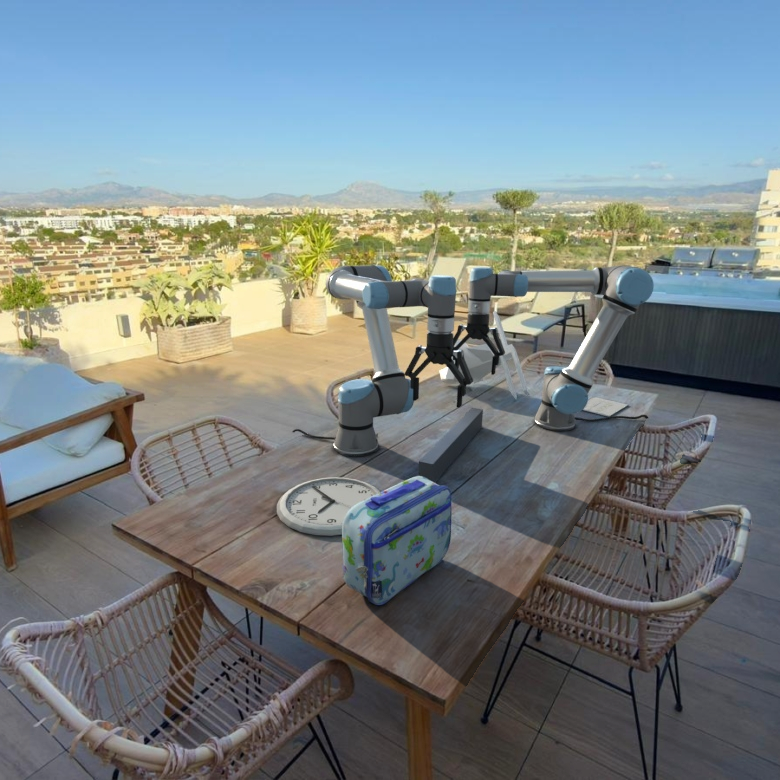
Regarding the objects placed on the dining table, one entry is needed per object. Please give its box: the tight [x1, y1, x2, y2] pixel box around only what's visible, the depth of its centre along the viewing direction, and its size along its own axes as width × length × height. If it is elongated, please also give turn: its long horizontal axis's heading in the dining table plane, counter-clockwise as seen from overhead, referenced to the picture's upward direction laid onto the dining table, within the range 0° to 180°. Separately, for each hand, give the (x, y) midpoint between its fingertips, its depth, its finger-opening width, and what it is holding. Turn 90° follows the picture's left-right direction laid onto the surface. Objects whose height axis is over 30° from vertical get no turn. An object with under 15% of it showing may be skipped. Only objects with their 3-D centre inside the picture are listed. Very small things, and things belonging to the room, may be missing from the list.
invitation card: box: [582, 396, 629, 417], centre depth 226 cm, size 21×1×15 cm
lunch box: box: [341, 475, 453, 606], centre depth 111 cm, size 26×11×21 cm, turn 134°
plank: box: [417, 407, 484, 483], centre depth 177 cm, size 54×4×7 cm, turn 155°
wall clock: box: [276, 476, 382, 537], centre depth 142 cm, size 30×2×30 cm
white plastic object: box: [438, 310, 531, 400], centre depth 245 cm, size 37×45×31 cm
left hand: (437, 402), depth 154 cm, fingers open, 13 cm apart
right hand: (474, 371), depth 189 cm, fingers open, 13 cm apart
